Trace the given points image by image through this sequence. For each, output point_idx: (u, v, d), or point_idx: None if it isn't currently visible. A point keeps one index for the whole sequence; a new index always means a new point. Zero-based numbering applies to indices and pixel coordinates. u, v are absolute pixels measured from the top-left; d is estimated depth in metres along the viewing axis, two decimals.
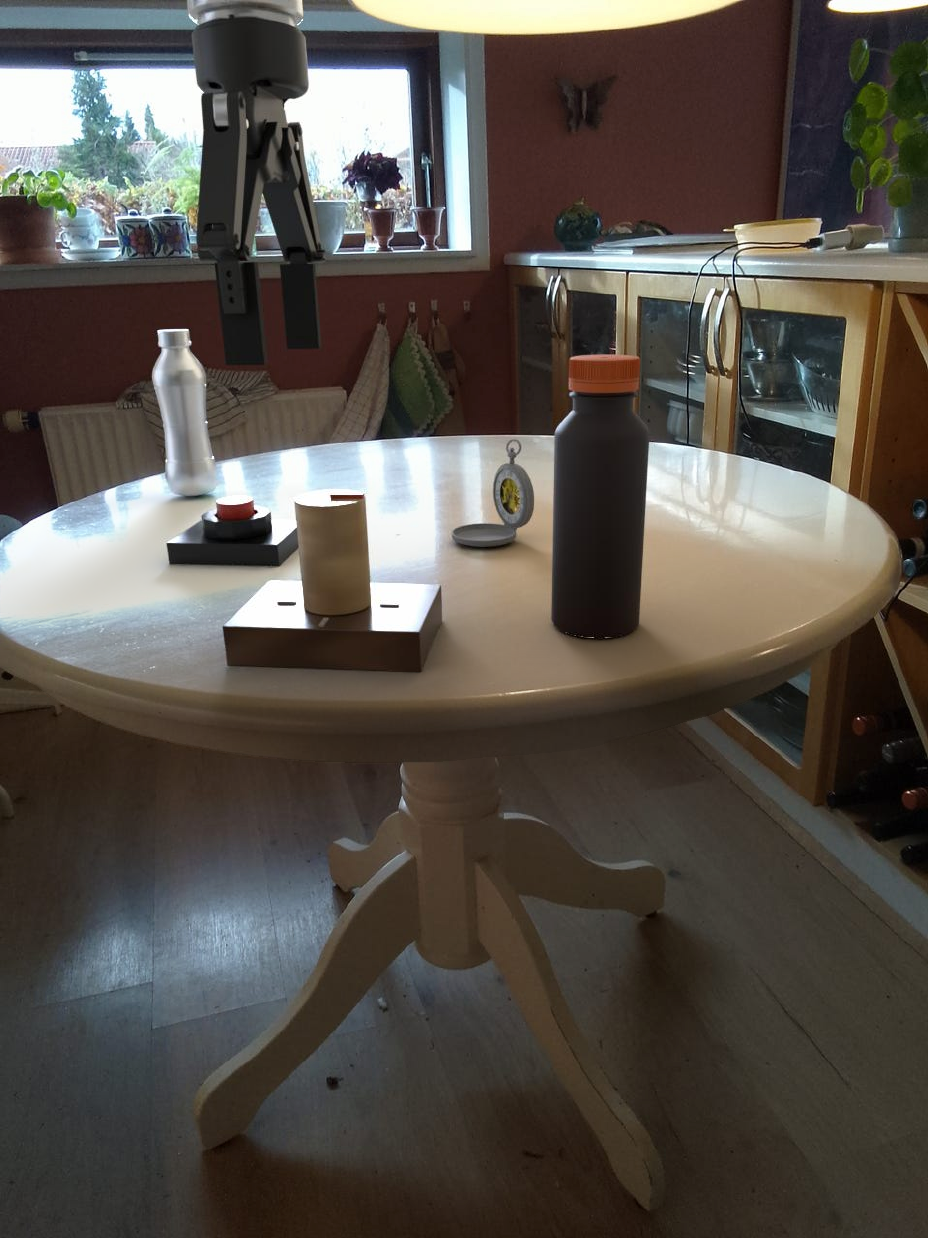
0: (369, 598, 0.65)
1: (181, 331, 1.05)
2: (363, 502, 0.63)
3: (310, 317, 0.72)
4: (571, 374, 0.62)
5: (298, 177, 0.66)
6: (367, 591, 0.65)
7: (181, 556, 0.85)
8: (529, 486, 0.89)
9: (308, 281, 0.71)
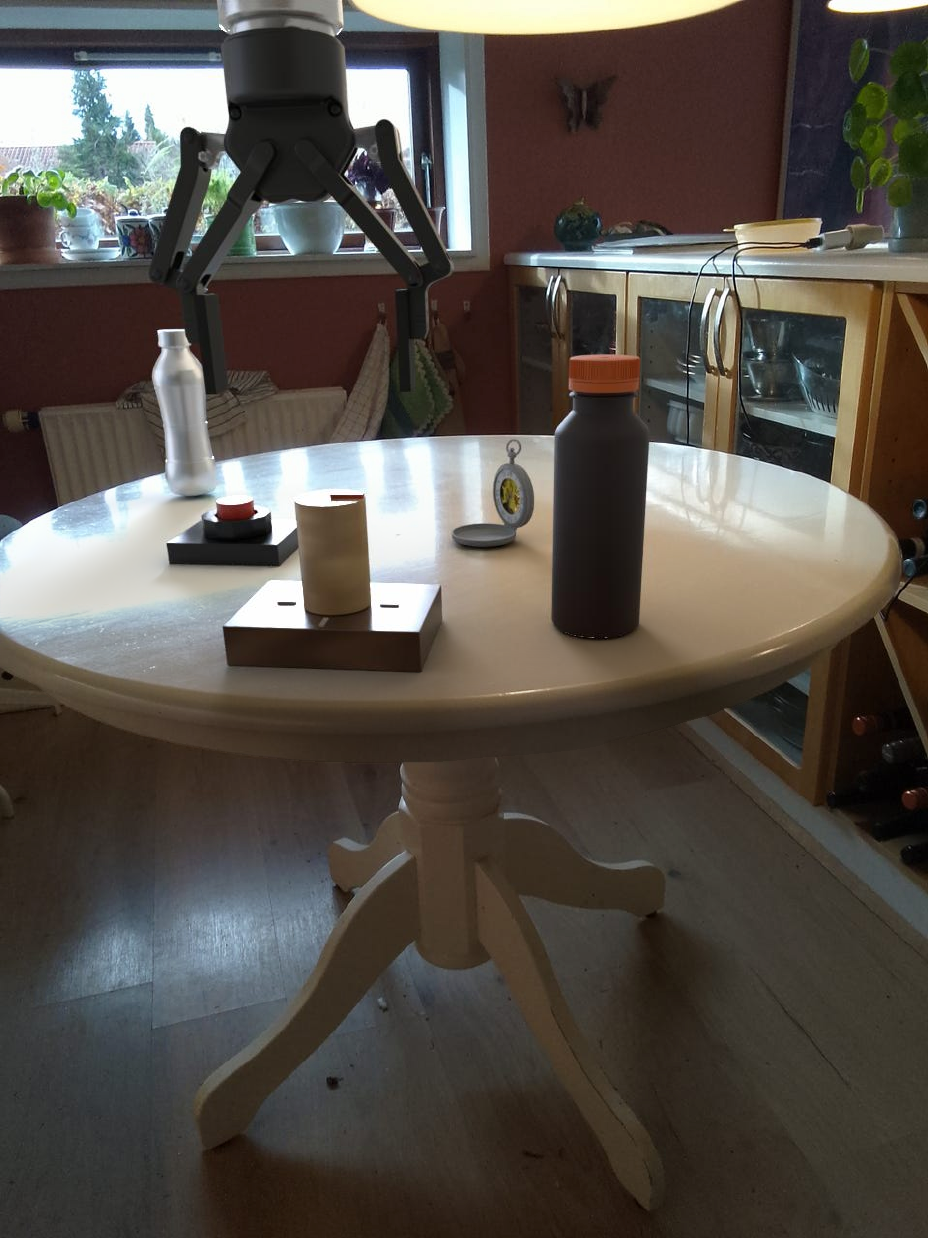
0: (369, 598, 0.65)
1: (181, 331, 1.05)
2: (363, 502, 0.63)
3: None
4: (571, 374, 0.62)
5: (339, 192, 0.56)
6: (367, 591, 0.65)
7: (181, 556, 0.85)
8: (529, 486, 0.89)
9: None
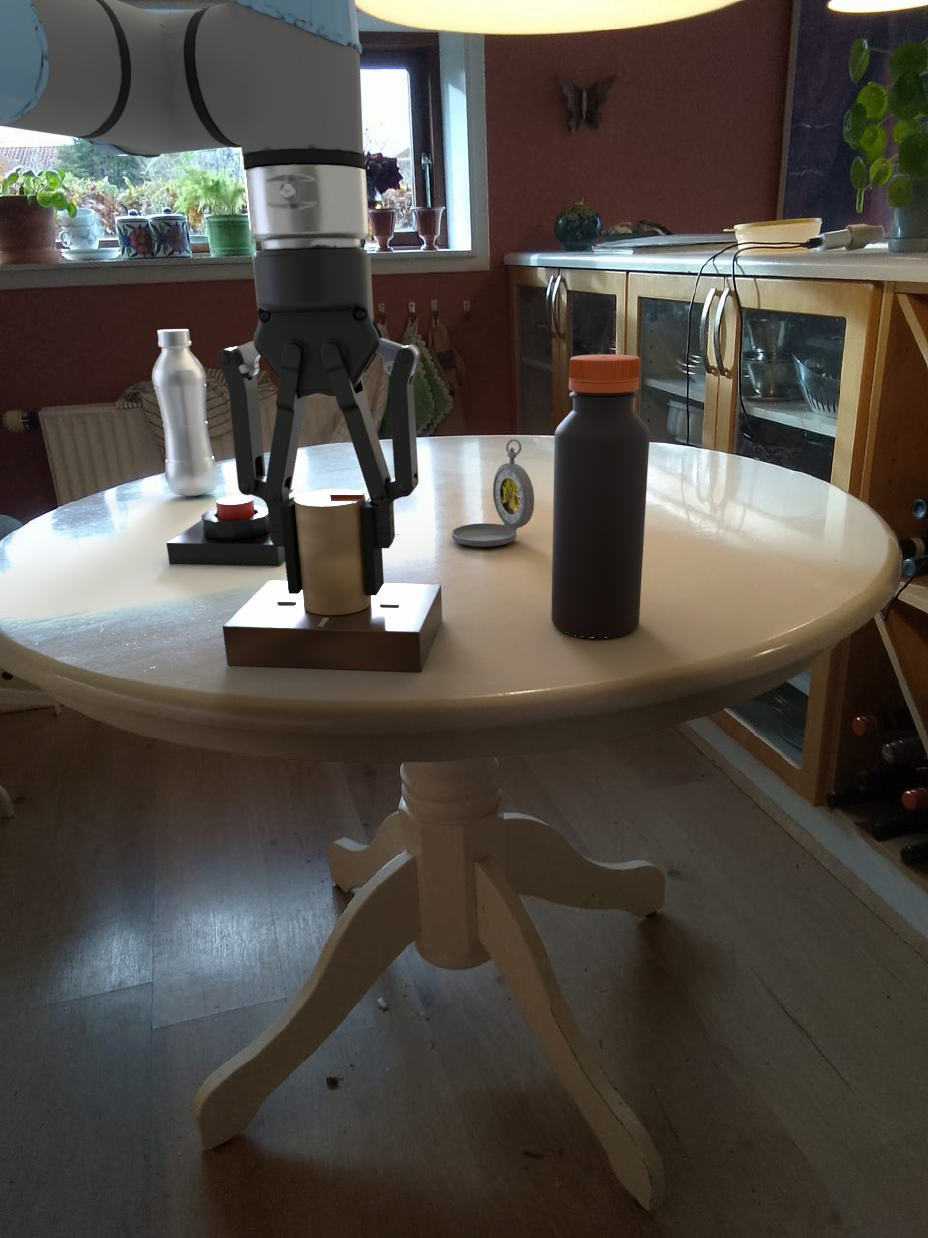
0: (369, 598, 0.65)
1: (181, 331, 1.05)
2: (363, 502, 0.63)
3: None
4: (571, 374, 0.62)
5: (344, 400, 0.59)
6: None
7: (181, 556, 0.85)
8: (529, 486, 0.89)
9: None
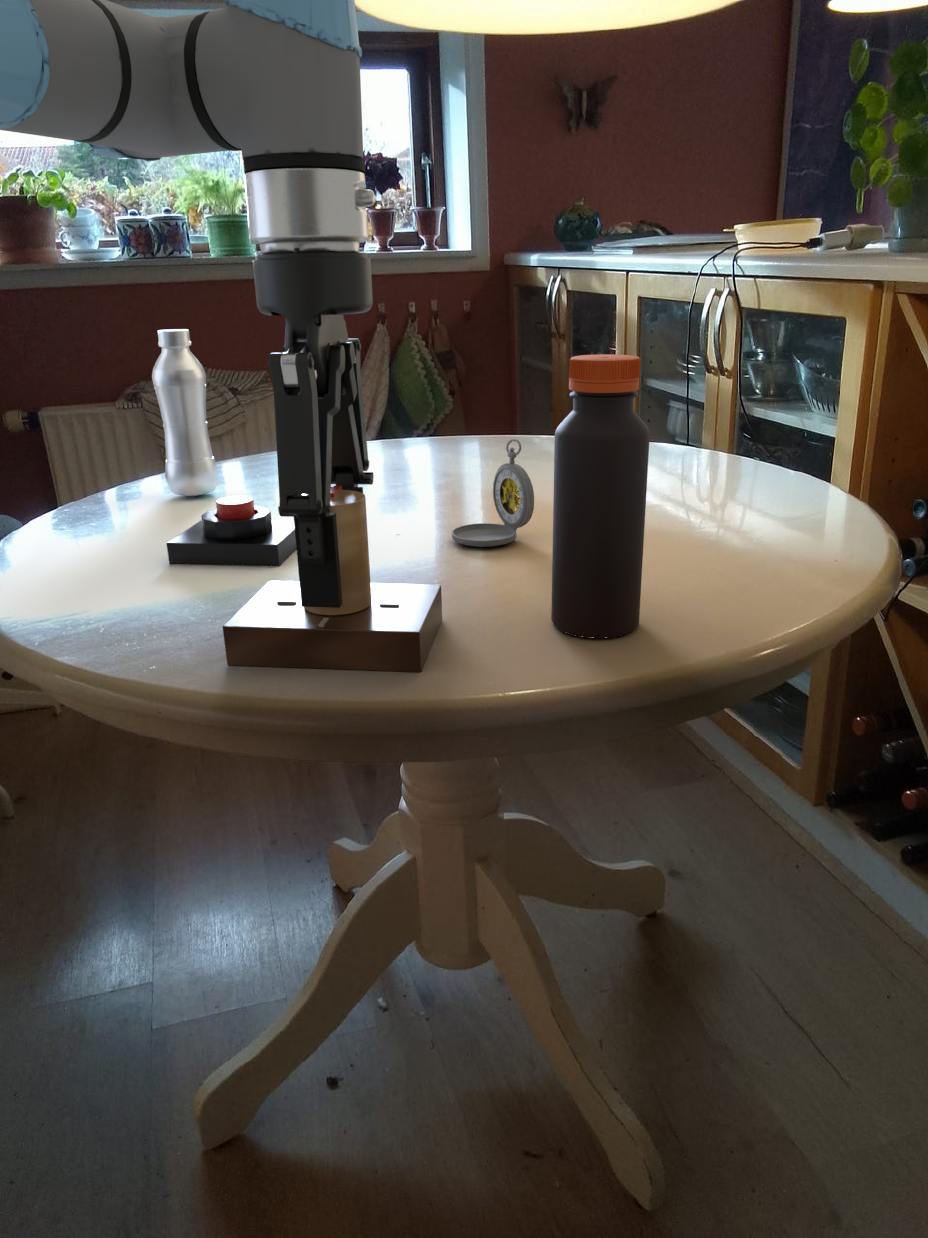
0: None
1: (181, 331, 1.05)
2: None
3: None
4: (571, 374, 0.62)
5: (355, 393, 0.63)
6: None
7: (181, 556, 0.85)
8: (529, 486, 0.89)
9: None
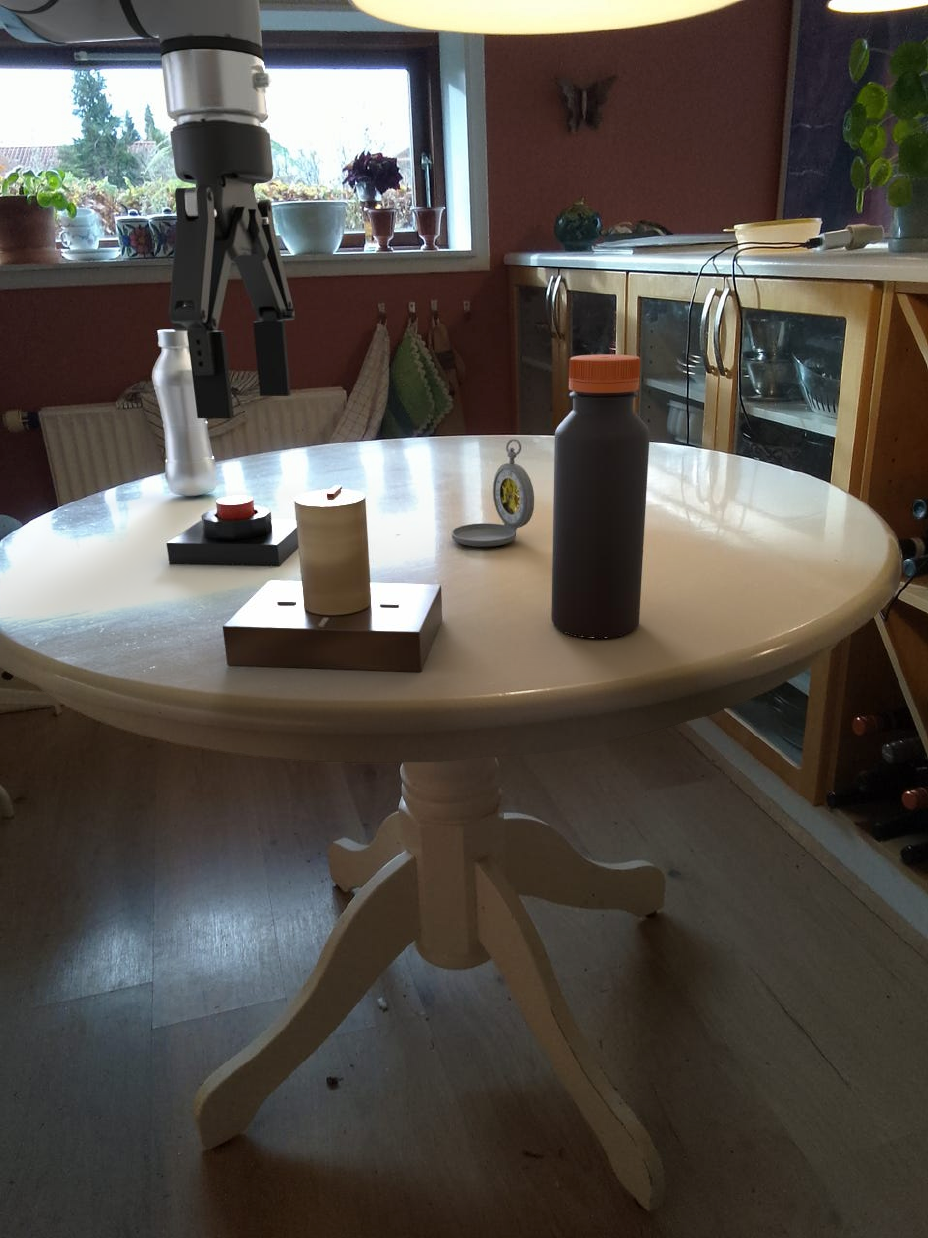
0: None
1: (181, 331, 1.05)
2: None
3: (280, 369, 0.81)
4: (571, 374, 0.62)
5: (266, 249, 0.75)
6: None
7: (181, 556, 0.85)
8: (529, 486, 0.89)
9: (278, 337, 0.80)
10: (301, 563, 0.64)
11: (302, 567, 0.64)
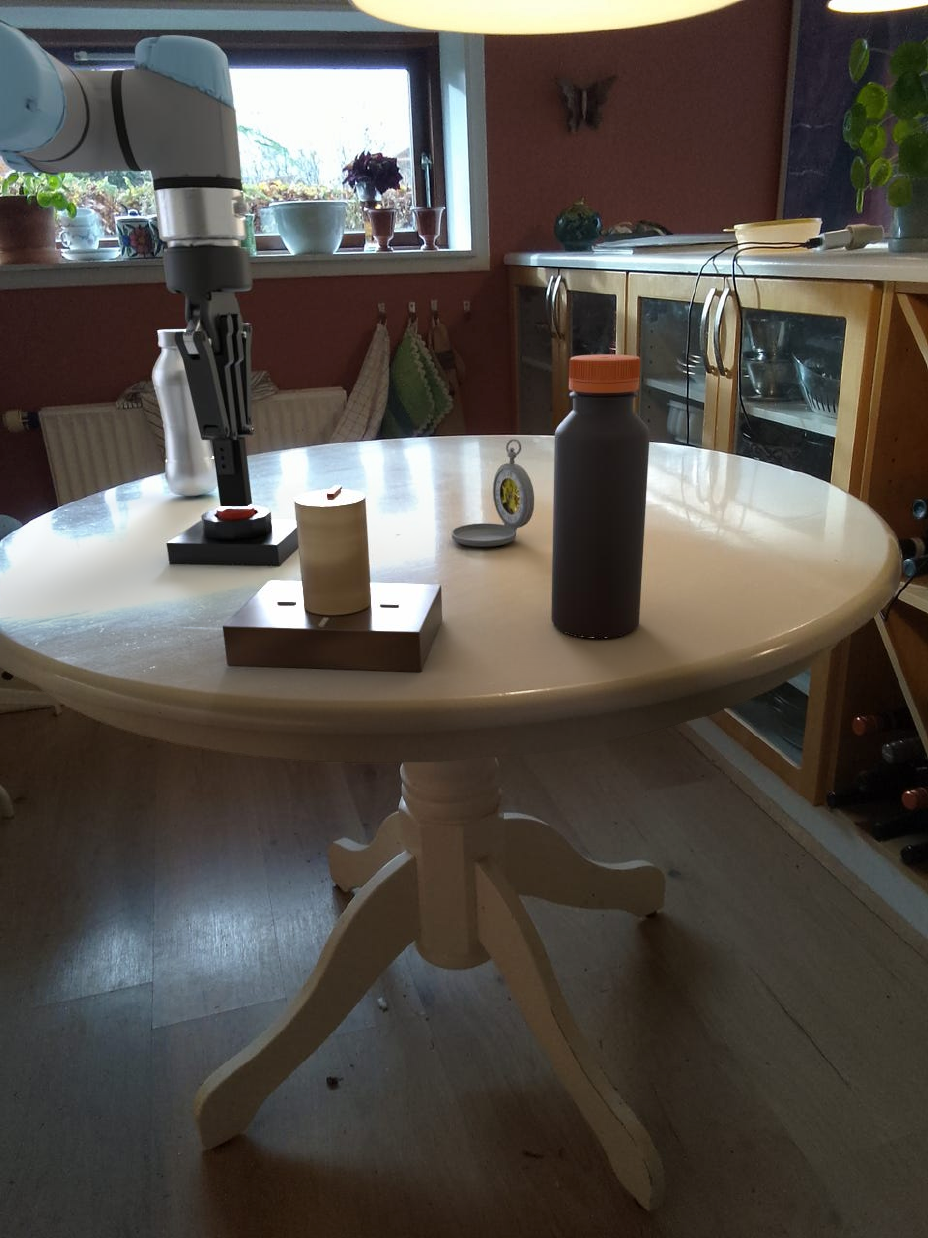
0: None
1: None
2: None
3: None
4: (571, 374, 0.62)
5: (240, 355, 0.83)
6: None
7: (181, 556, 0.85)
8: (529, 486, 0.89)
9: None
10: (301, 563, 0.64)
11: (302, 567, 0.64)
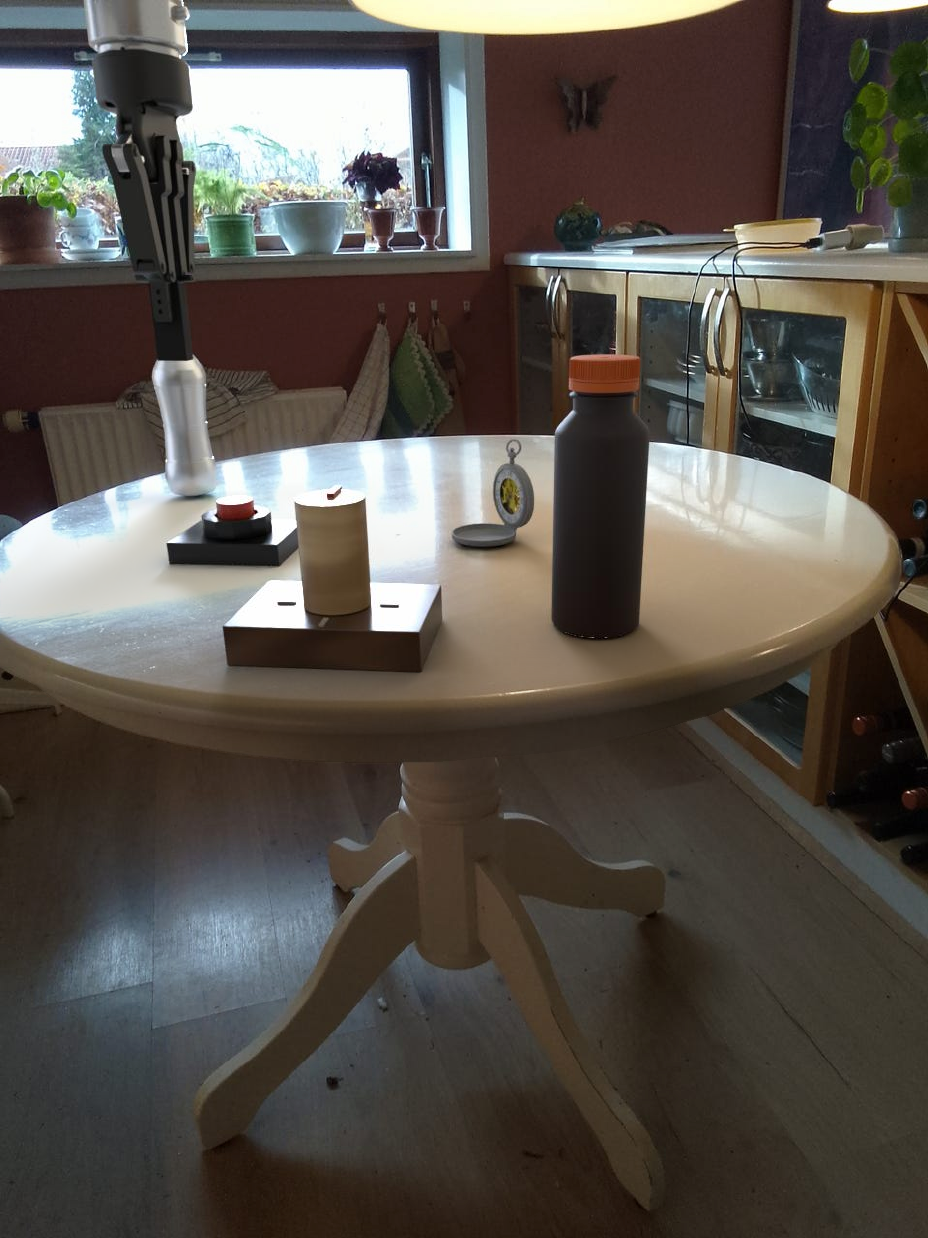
0: None
1: None
2: None
3: None
4: (571, 374, 0.62)
5: (180, 188, 0.76)
6: None
7: (181, 556, 0.85)
8: (529, 486, 0.89)
9: None
10: (301, 563, 0.64)
11: (302, 567, 0.64)
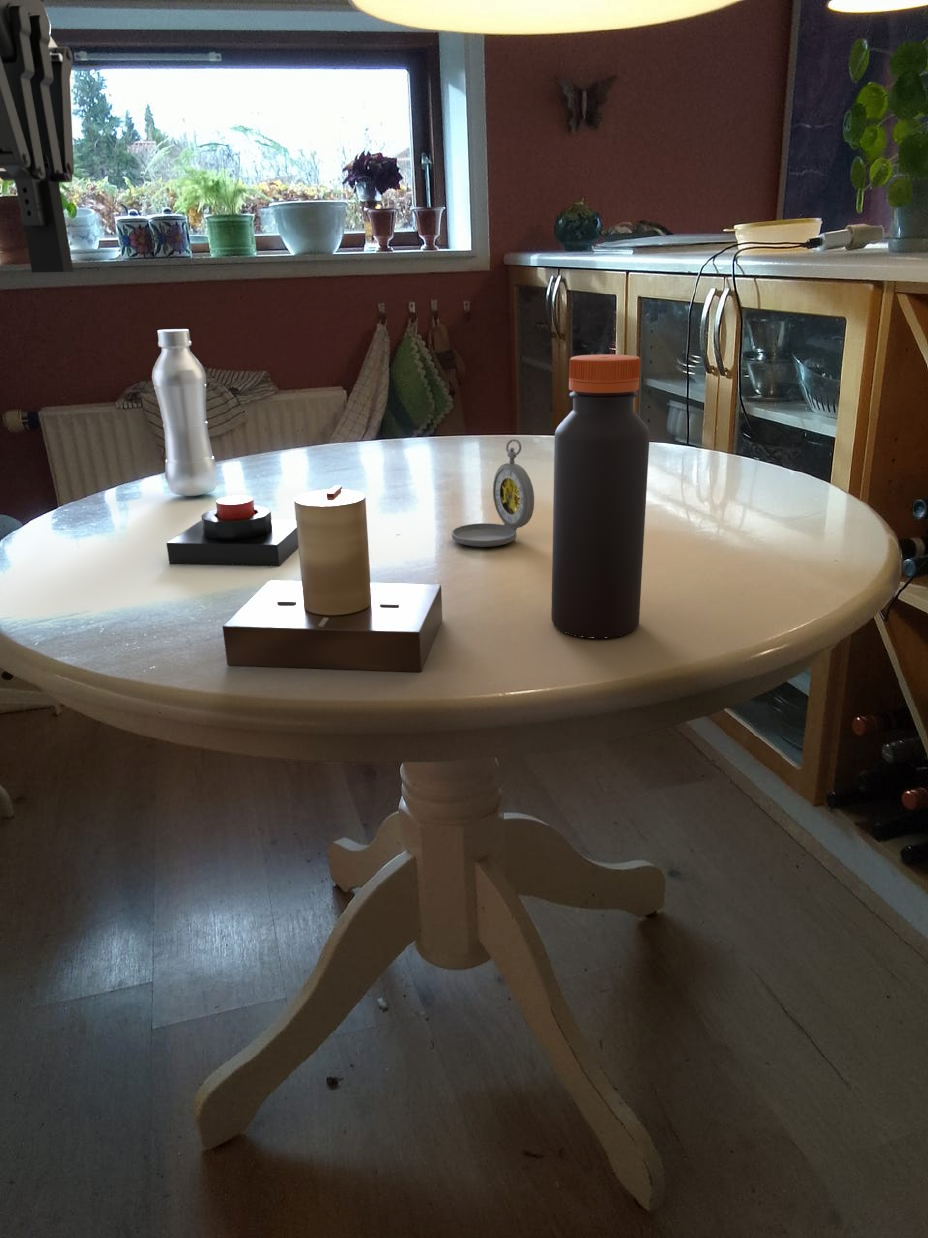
0: None
1: (181, 331, 1.05)
2: None
3: None
4: (571, 374, 0.62)
5: (48, 72, 0.68)
6: None
7: (181, 556, 0.85)
8: (529, 486, 0.89)
9: None
10: (301, 563, 0.64)
11: (302, 567, 0.64)
